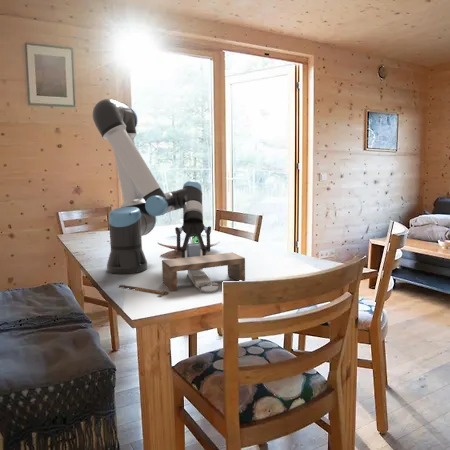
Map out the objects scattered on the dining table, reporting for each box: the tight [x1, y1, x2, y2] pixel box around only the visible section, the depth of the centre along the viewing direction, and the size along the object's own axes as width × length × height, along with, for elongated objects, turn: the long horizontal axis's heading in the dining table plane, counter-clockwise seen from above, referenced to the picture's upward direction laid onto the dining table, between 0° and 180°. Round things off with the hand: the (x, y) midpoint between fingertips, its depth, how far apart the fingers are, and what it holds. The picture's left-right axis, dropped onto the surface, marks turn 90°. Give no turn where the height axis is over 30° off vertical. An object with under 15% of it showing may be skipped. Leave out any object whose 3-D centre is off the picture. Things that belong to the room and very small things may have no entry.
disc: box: [198, 281, 220, 294], centre depth 134 cm, size 6×6×2 cm
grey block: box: [186, 242, 212, 289], centre depth 145 cm, size 5×18×11 cm, turn 15°
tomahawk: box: [118, 284, 170, 298], centre depth 132 cm, size 20×7×1 cm, turn 60°
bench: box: [161, 252, 246, 292], centre depth 142 cm, size 26×10×8 cm, turn 114°
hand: (194, 267), depth 147 cm, fingers closed on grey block, 5 cm apart
